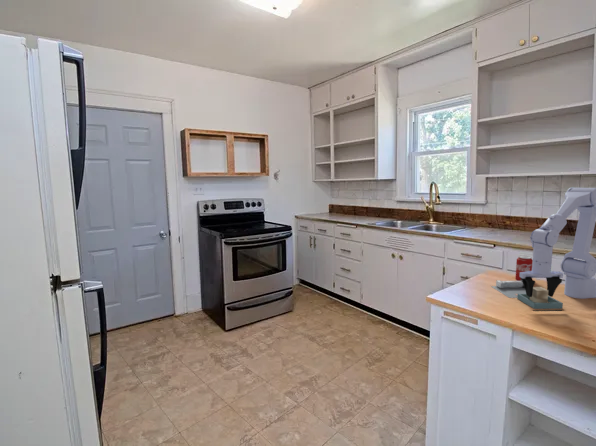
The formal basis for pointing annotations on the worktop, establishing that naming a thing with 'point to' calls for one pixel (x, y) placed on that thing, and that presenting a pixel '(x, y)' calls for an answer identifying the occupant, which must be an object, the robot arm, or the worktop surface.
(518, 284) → the crank lever
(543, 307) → the tray
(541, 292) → the block
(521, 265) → the beverage can
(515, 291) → the crank board
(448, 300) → the worktop surface
